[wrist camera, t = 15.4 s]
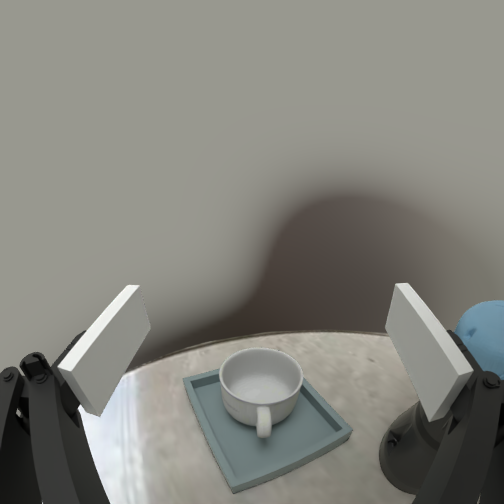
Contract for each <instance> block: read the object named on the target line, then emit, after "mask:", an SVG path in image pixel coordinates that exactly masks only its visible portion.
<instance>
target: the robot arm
mask: <svg viewBox="0 0 504 504" xmlns="http://www.w3.org/2000/svg"><path fill="white" fill-rule="evenodd" d="M150 328H151V326H150V323H149V319H148V316H147V312H146V308H145V304H144V300H143V296H142V292H141V288H140V285H127V287H125V288H124V290H123V291H122V292H121V293H120V294H119V295H118V296H117V297H116V298H115V299H114V300H113V302H112V303H111V304H110V305H109V306H108V307H107V308H106V309H105V311H104V312H103V313H102V314H101V315H100V316H99V317H98V319H97V320H96V321H95V322H94V323H93V324H92V325H91V327H90V328H89V329H88V330H87V331H83V332H82V333H80V334H79V335H77V336H76V337H75V338H74V340H73V341H72V342H71V344H69V345H68V347H67V348H66V350H64V352H63V353H62V354H61V355H60V356H59V357H58V359H57V360H56V361H55V362H54V364H53V365H52V366H51V367H50V366H49V364H48V362H47V360H46V359H45V357H44V355H43V354H42V353H39V352H34V353H31V354H28V355H27V356H26V357H24V358H23V359H22V361H21V362H20V368H21V370H22V371H23V373H24V374H25V376H22V375H21V374H20V372H19V370H18V369H17V368H16V367H8V368H6V369H4V370H3V371H2V372H1V373H0V504H42V502H43V504H110V502H109V500H108V497H107V495H106V493H105V490H104V488H103V485H102V483H101V480H100V478H99V475H98V472H97V470H96V467H95V464H94V461H93V458H92V455H91V452H90V448H89V445H88V442H87V438H86V434H85V431H84V427H83V423H82V419H81V414H80V412H79V410H78V407H79V405H80V404H81V405H82V407H83V408H84V410H85V411H86V412H87V413H90V414H93V415H96V416H99V417H100V416H101V414H102V412H103V410H104V408H105V407H106V405H107V403H108V401H109V399H110V397H111V396H112V394H113V392H114V390H115V388H116V387H117V385H118V383H119V381H120V380H121V378H122V376H123V374H124V373H125V371H126V369H127V367H128V366H129V364H130V362H131V360H132V359H133V357H134V355H135V353H136V352H137V350H138V348H139V347H140V345H141V343H142V342H143V340H144V338H145V337H146V335H147V333H148V332H149V330H150ZM385 328H386V330H387V332H388V334H389V336H390V338H391V340H392V342H393V344H394V346H395V348H396V350H397V352H398V354H399V356H400V358H401V360H402V362H403V364H404V366H405V368H406V371H407V373H408V375H409V377H410V379H411V381H412V383H413V386H414V388H415V390H416V392H417V395H418V397H419V399H420V401H418V402H417V403H416V404H415V405H413V406H412V407H411V408H409V409H408V410H407V411H405V412H404V413H403V414H401V415H400V416H399V417H398V418H397V419H396V420H395V421H394V422H393V423H392V425H391V426H390V428H389V429H388V431H387V432H386V434H385V436H384V437H383V440H382V442H381V446H380V464H381V467H382V470H383V472H384V474H385V476H386V477H387V479H388V480H389V481H390V482H391V483H392V484H393V485H394V486H396V487H397V488H399V489H400V490H402V491H404V492H407V493H410V494H416V495H417V496H416V497H415V499H414V501H413V503H412V504H477V501H478V498H479V496H480V493H481V496H480V502H479V504H504V301H503V300H495V301H487V302H482V303H479V304H477V305H475V306H473V307H471V308H470V309H468V310H467V311H466V312H465V313H464V314H463V316H462V317H461V319H460V320H459V322H458V324H457V327H456V329H455V331H454V332H452V331H451V330H447V331H446V330H445V329H444V328H443V326H442V325H441V324H440V322H439V321H438V320H437V318H436V317H435V316H434V314H433V313H432V312H431V311H430V309H429V308H428V307H427V306H426V304H425V303H424V302H423V301H422V299H420V297H419V296H418V295H417V293H416V292H415V291H414V290H413V289H412V288H411V286H410V285H409V284H408V283H402V284H395V288H394V293H393V298H392V302H391V306H390V310H389V314H388V318H387V322H386V326H385ZM17 409H18V410H19V411H20V412H21V415H20V417H19V416H18V415H17V414H16V411H17Z"/></svg>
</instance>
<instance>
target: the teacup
mask: <svg viewBox="0 0 504 504" xmlns="http://www.w3.org/2000/svg"><path fill="white" fill-rule="evenodd" d="M219 379H220V383H221V394H222V399H223V403H224V406H225V408H226V410H227V411H228V412H229V414H230V415H231V416H232V417H234V418H235V419H236V420H238V421H239V422H242V423H244V424H246V425H250V426H256V427H257V436H258V437H260V438H267V437H270V436H271V426H272V425H273V424H276V423H278V422H280V421H282V420H284V419H285V418H286V417H287V416H288V415H289V414H290V413H291V412H292V410H293V408H294V406H295V404H296V401H297V398H298V395H299V392H300V388H301V386H302V383H303V371H302V368H301V366H300V365H299V363H298V362H297V361H296V360H295V359H294V358H292V357H291V356H290V355H288V354H286V353H284V352H281V351H278V350H275V349H270V348H263V347H259V348H248V349H243V350H240V351H237V352H235V353H233V354H232V355H230V356H229V357H227V358H226V359H225V360H224V362H223V363H222V365H221V367H220V370H219Z"/></svg>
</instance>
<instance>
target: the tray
mask: <svg viewBox="0 0 504 504" xmlns="http://www.w3.org/2000/svg"><path fill="white" fill-rule="evenodd" d="M278 351H279V350H278ZM219 370H220V369H217V370H213V371H209V372H206V373H202V374H198V375H194V376H190V377H186V378H183V382H184V385H185V389H186V392H187V395H188V397H189V400H190V402H191V405H192V407H193V410H194V412H195V415H196V417H197V420H198V422H199V424H200V427H201V429H202V431H203V433H204V436H205V438H206V440H207V442H208V445H209V447H210V449H211V451H212V453H213V455H214V457H215V459H216V461H217V463H218V466H219V468H220V469H221V471H222V473H223V475H224V477H225V479H226V481H227V483H228V485H229V487H230V489H231V490H232V492H233V494H234V493H237V492H240V491H243V490H246V489H249V488H251V487H254V486H257V485H259V484H262V483H264V482H267V481H269V480H272V479H274V478H277V477H279V476H281V475H283V474H286V473H288V472H290V471H292V470H294V469H296V468H298V467H300V466H302V465H304V464H306V463H308V462H310V461H312V460H314V459H316V458H318V457H320V456H322V455H323V454H325V453H327V452H329V451H330V450H332V449H334V448H336V447H337V446H339V445H341V444H342V443H344V442H345V441H347V440H348V439H349V437H350V435H351V433H352V431H353V429H352V428H351V427H350V426H349V425H348V424H347V423H346V422H345V421H344V420H343V419H342V418H341V417H340V416H339V415H338V414H337V412H336V411H335V410H334V409H333V408H332V407H331V406H330V405H329V404H328V403H327V402H326V401H325V400H324V399H323V398H322V397H321V396H320V395H319V393H318V392H317V391H316V390H315V389H314V388H313V387H312V386H311V385H310V384H309V383H308V382H307V381H306V379H305V378H304V377H303V383H302V386H301V388H300V392H299V395H298V398H297V401H296V404H295V406H294V408H293V410H292V412H291V413H290V414H289V415H288V416H287V417H286V418H285V419H284V420H282V421H280V422H278V423H276V424H273V425H272V426H271V436H270V437H267V438H260V437H258V436H257V427H256V426H250V425H246V424H244V423H242V422H239V421H238V420H236V419H235V418H234V417H232V416H231V415H230V414H229V412H228V411H227V410H226V408H225V406H224V403H223V399H222V394H221V383H220V379H219Z"/></svg>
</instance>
